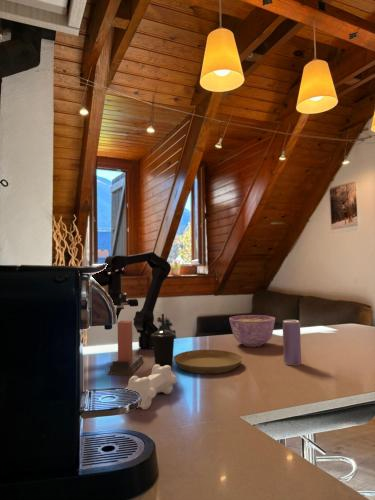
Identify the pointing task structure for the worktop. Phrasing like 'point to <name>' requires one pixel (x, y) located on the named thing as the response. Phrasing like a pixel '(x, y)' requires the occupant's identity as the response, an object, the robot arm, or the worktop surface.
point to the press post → (125, 341)
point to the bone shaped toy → (153, 384)
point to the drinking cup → (163, 346)
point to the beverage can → (291, 342)
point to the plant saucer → (207, 361)
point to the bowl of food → (252, 329)
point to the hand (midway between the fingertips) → (115, 324)
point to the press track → (125, 367)
